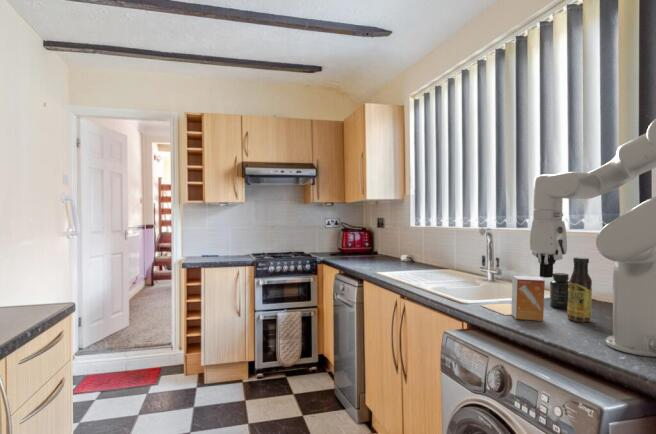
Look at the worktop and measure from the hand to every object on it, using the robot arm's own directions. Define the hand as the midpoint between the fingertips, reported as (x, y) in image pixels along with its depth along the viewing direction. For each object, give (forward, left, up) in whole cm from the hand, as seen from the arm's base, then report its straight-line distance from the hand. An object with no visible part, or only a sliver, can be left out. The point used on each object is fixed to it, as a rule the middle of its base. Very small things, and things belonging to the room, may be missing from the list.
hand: (546, 276), depth 116 cm
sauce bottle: (+2, -14, -15) cm, 21 cm away
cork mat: (+19, -1, -15) cm, 24 cm away
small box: (+8, 0, -15) cm, 17 cm away
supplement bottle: (+18, -22, -15) cm, 32 cm away
